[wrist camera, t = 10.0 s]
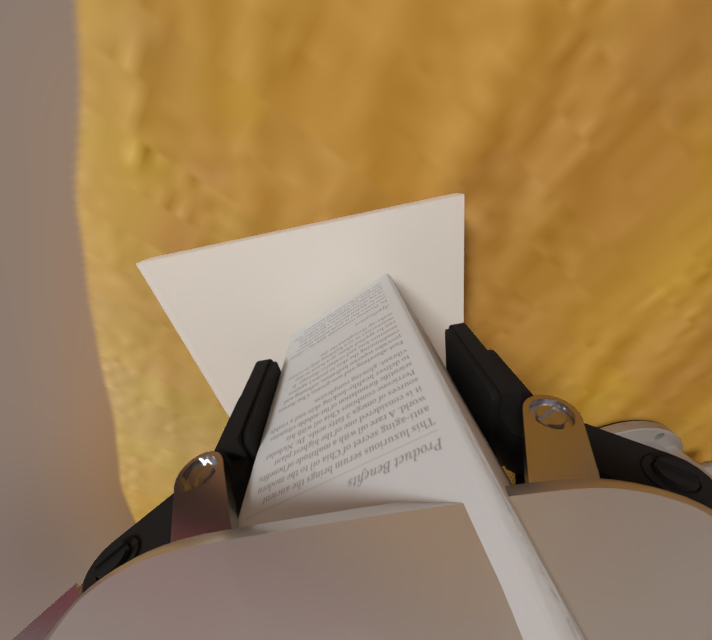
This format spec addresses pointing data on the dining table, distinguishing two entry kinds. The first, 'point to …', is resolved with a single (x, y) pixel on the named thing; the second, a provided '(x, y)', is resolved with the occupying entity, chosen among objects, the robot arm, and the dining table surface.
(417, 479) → the skincare box
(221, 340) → the dock
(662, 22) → the dining table surface
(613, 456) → the robot arm
